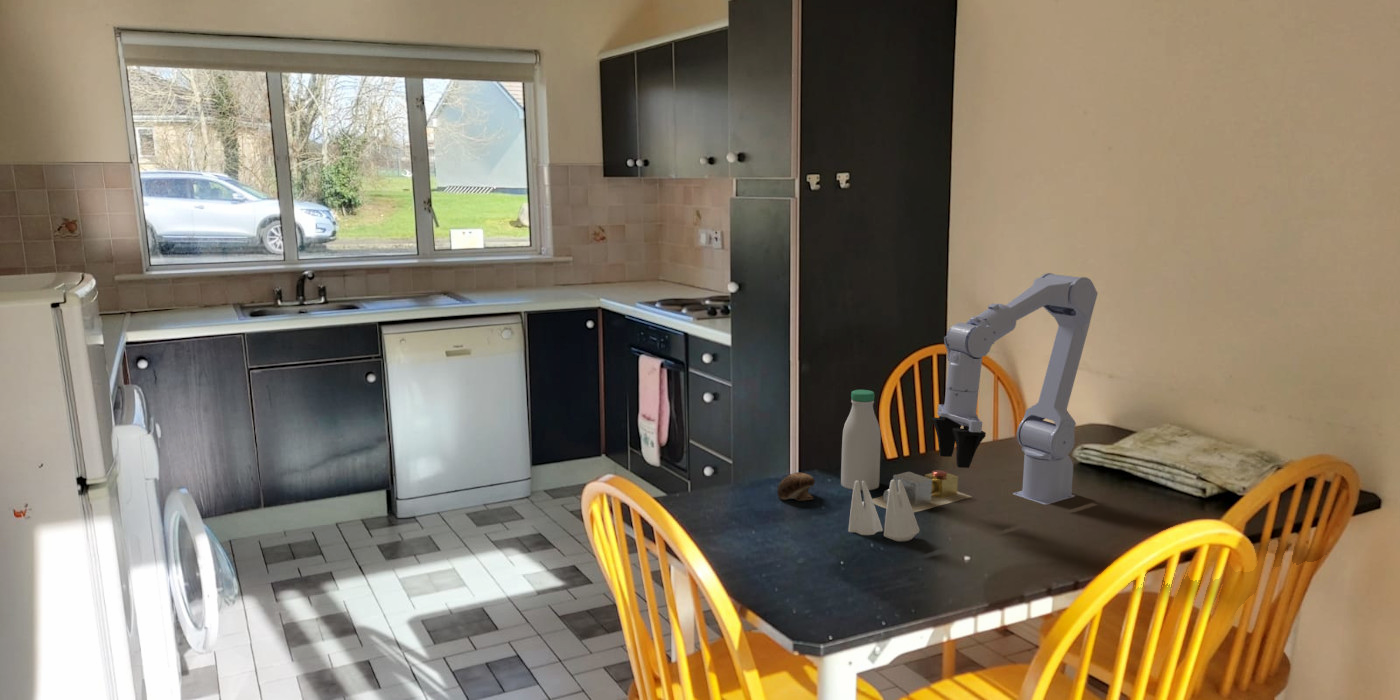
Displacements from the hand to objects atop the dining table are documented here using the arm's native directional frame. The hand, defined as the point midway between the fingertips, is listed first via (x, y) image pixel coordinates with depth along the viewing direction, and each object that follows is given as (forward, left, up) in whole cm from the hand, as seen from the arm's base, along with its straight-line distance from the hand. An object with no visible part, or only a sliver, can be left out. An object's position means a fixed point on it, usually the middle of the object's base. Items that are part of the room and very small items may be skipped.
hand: (954, 461), depth 181 cm
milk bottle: (+2, -23, -11) cm, 25 cm away
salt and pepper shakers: (+18, 0, -11) cm, 21 cm away
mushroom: (+18, -24, -11) cm, 32 cm away
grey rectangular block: (+3, -10, -10) cm, 14 cm away
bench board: (-2, -10, -11) cm, 15 cm away
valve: (-6, -10, -10) cm, 15 cm away
